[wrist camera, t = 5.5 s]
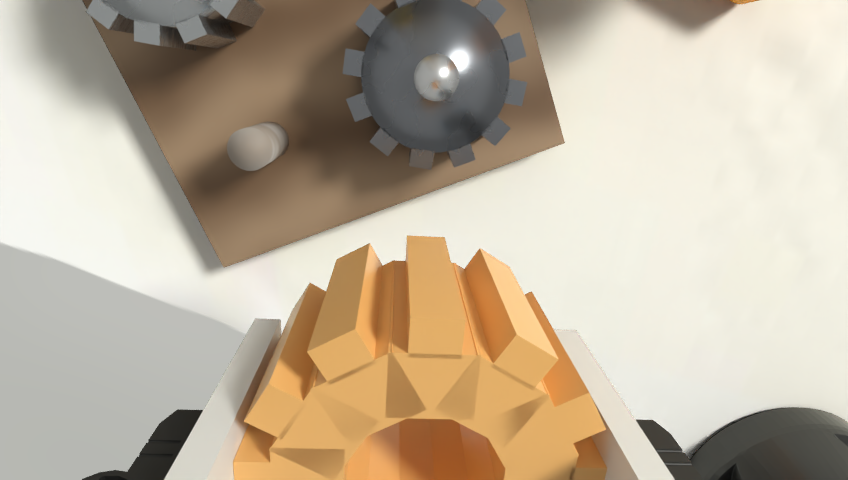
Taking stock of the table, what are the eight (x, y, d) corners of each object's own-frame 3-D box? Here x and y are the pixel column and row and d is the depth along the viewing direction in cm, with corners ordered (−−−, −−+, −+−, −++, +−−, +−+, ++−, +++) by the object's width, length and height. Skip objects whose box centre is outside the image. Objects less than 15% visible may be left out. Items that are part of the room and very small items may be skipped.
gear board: (554, 138, 30) (589, 152, 24) (235, 256, 32) (196, 295, 26) (436, -284, 24) (444, -399, 18) (45, -110, 25) (-61, -165, 20)
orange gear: (528, 466, 18) (575, 613, 13) (287, 462, 17) (245, 614, 12) (566, 243, 15) (643, 326, 10) (280, 229, 14) (221, 311, 10)
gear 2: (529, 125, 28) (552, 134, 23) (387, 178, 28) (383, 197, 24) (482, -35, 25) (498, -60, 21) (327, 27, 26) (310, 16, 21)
